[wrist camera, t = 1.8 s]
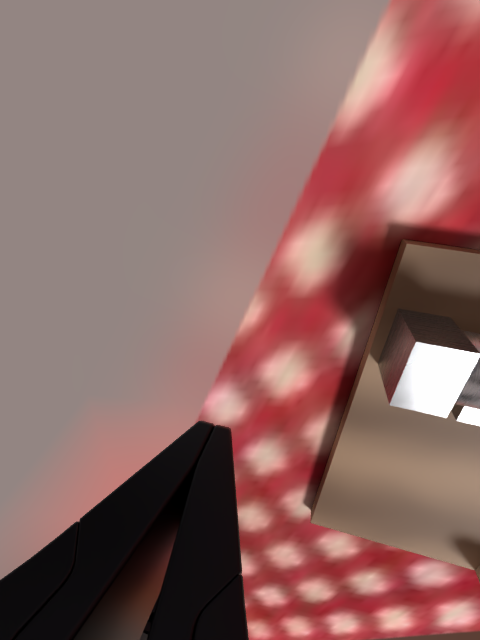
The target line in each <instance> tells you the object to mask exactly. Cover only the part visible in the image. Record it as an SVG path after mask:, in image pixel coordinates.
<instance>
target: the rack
mask: <svg viewBox="0 0 480 640" xmlns="http://www.w3.org/2000/svg"><path fill="white" fill-rule="evenodd" d="M475 571H476V574H477V577H478V579H479V582H480V565H479V567H478V568H477V569H476V570H475Z"/></svg>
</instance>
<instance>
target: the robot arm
mask: <svg viewBox="0 0 480 640" xmlns="http://www.w3.org/2000/svg"><path fill="white" fill-rule="evenodd" d="M241 574H242V564H241V551H240V539H239V526H238V513H237V500H236V487H235V474H234V461H233V448H232V436H231V429H230V428H229V427H225V426H221V425H216V426H215V425H214V424H213V423H209V422H205V421H199V422H197V423H196V424H195V425H194V426H192V427H191V428H190V429H189V430H187V431H186V432H185V433H184V434H183V435H181V436H180V437H179V438H178V439H176V440H175V441H174V442H173V443H172V444H170V445H169V446H168V447H167V448H166V449H164V450H163V451H162V452H161V453H159V454H158V455H157V456H156V457H155V458H153V459H152V460H151V461H150V462H149V463H147V464H146V465H145V466H144V467H142V468H141V469H140V470H139V471H138V472H136V473H135V474H134V475H133V476H131V477H130V478H129V479H128V480H127V481H125V482H124V483H123V484H122V485H121V486H119V487H118V488H117V489H116V490H115V491H113V492H112V493H111V494H110V495H108V496H107V497H106V498H105V499H103V500H102V501H101V502H100V503H99V504H97V505H96V506H95V507H94V508H93V509H91V510H90V511H89V512H88V513H86V514H85V515H84V516H83V517H82V518H80V521H79V522H75V523H74V524H73V525H71V526H70V527H69V528H68V529H67V530H65V531H64V532H63V533H62V534H61V535H59V536H58V537H57V538H56V539H55V540H53V541H52V542H50V543H49V544H48V545H47V546H45V547H44V548H43V549H42V550H40V551H39V552H38V553H37V554H35V555H34V556H33V557H31V558H30V559H29V560H27V561H26V562H25V563H23V564H22V565H20V566H19V567H18V568H16V569H15V570H13V571H12V572H11V573H9V574H8V575H7V576H5V577H4V578H2V579H1V580H0V640H249V638H248V629H247V620H246V610H245V601H244V588H243V577H242V575H241Z"/></svg>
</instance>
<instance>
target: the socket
mask: <svg viewBox="0 0 480 640" xmlns="http://www.w3.org/2000/svg"><path fill="white" fill-rule="evenodd" d="M451 411H452V413H453V415H454V417H455V419H456V421H460V422H464V423H469V424H473V425H478V426H480V409H475V408H470V407H466V406H461V405H456V404H454V405H453V407H452V409H451Z"/></svg>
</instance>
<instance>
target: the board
mask: <svg viewBox="0 0 480 640" xmlns="http://www.w3.org/2000/svg"><path fill="white" fill-rule="evenodd" d="M398 308H400V309H406V310H411V311H417V312H423V313H428V314H434V315H440V316H446V317H450V318H451V319H452V320H453V321H454V322H455V324H456V325H457V326H458V327H459V328H460V330H463V331H468V332H474V333H479V334H480V250H475V249H468V248H461V247H454V246H447V245H440V244H433V243H426V242H419V241H412V240H405V239H402V241H401V244H400V247H399V250H398V253H397V256H396V259H395V262H394V265H393V268H392V271H391V274H390V277H389V280H388V283H387V286H386V289H385V292H384V295H383V298H382V301H381V304H380V307H379V310H378V313H377V316H376V319H375V322H374V325H373V328H372V330H371V333H370V336H369V339H368V342H367V345H366V348H365V351H364V354H363V357H362V360H361V363H360V366H359V369H358V372H357V375H356V378H355V381H354V384H353V387H352V390H351V393H350V396H349V399H348V402H347V405H346V408H345V411H344V414H343V417H342V420H341V423H340V426H339V429H338V432H337V435H336V438H335V441H334V444H333V447H332V450H331V453H330V456H329V459H328V462H327V465H326V468H325V471H324V474H323V477H322V479H321V482H320V485H319V488H318V491H317V494H316V497H315V500H314V503H313V506H312V509H311V523H313V524H316V525H320V526H323V527H327V528H330V529H334V530H337V531H341V532H344V533H347V534H351V535H354V536H358V537H361V538H365V539H368V540H372V541H375V542H379V543H382V544H386V545H389V546H392V547H396V548H399V549H403V550H406V551H410V552H413V553H417V554H420V555H424V556H427V557H431V558H434V559H437V560H441V561H444V562H448V563H451V564H455V565H458V566H462V567H465V568H469V569H472V570H476V569H477V568H478V567H479V565H480V426H478V425H473V424H469V423H464V422H460V421H456V419H455V417H454V415H453V413H452V411H450V412H449V414H448V416H447V418H445V417H440V416H436V415H431V414H427V413H422V412H418V411H413V410H409V409H404V408H400V407H395V406H391V405H389V402H388V399H387V395H386V392H385V388H384V384H383V381H382V377H381V374H380V370H379V367H378V362H379V359H380V356H381V353H382V351H383V348H384V345H385V342H386V340H387V337H388V334H389V332H390V329H391V326H392V323H393V321H394V318H395V315H396V312H397V310H398Z"/></svg>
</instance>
